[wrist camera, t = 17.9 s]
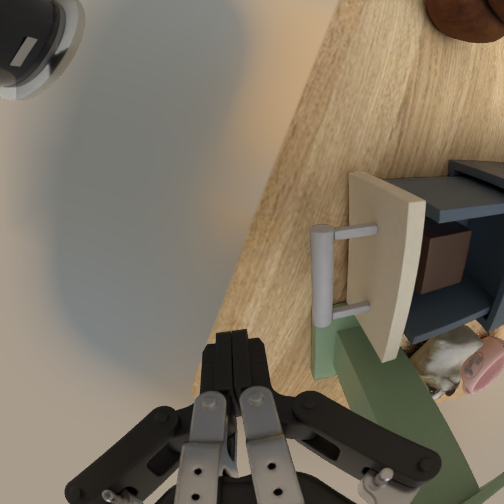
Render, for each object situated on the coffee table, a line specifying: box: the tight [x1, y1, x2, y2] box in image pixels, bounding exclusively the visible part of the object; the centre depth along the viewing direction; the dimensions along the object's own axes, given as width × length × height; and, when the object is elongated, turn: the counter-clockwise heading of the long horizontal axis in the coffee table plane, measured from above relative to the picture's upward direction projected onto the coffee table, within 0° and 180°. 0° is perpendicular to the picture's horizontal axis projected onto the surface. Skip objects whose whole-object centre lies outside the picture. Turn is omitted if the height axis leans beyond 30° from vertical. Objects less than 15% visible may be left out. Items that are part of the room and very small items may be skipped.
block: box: [414, 215, 472, 294], centre depth 19 cm, size 4×4×4 cm
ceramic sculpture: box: [409, 325, 484, 400], centre depth 27 cm, size 11×9×15 cm
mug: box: [461, 336, 504, 395], centre depth 32 cm, size 12×10×6 cm
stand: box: [311, 302, 504, 504], centre depth 17 cm, size 9×9×22 cm
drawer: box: [310, 171, 504, 363], centre depth 18 cm, size 18×11×8 cm, turn 97°
